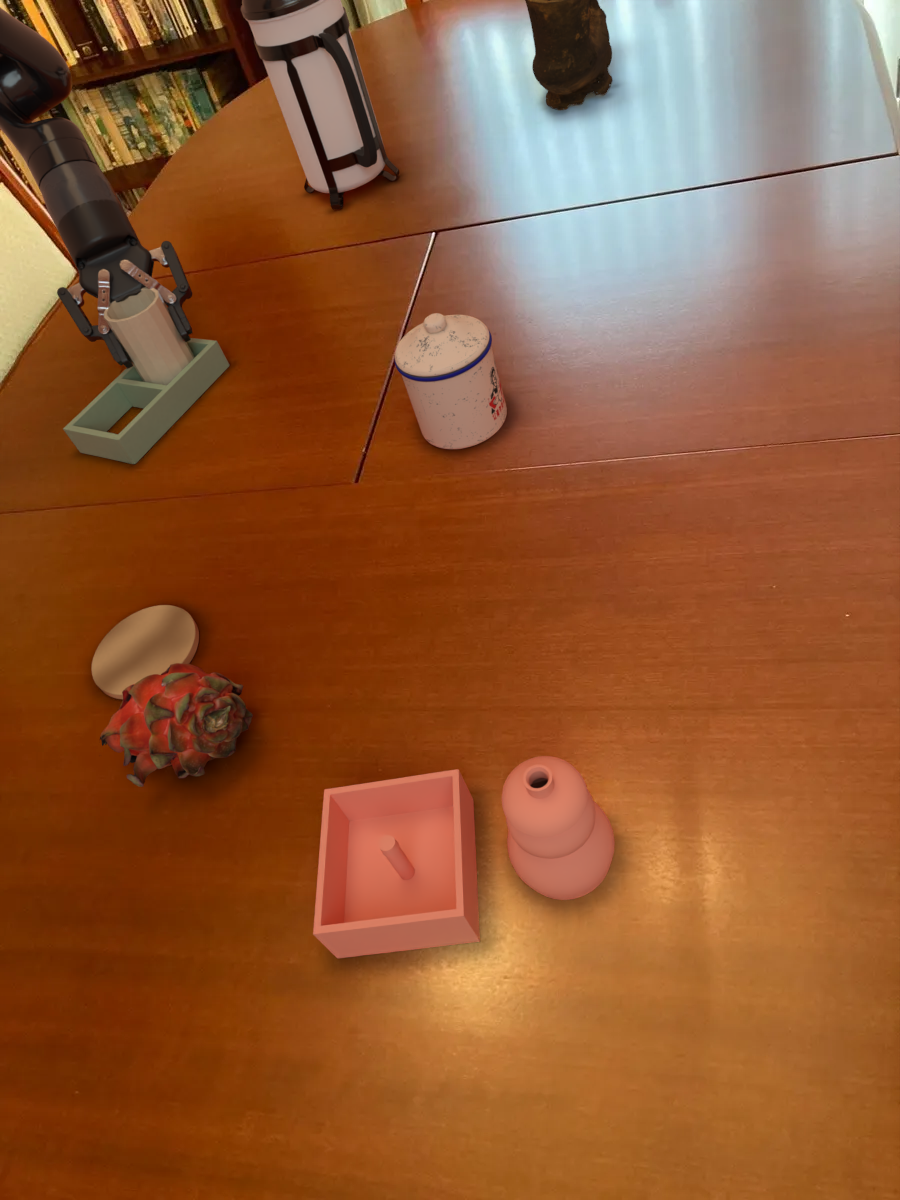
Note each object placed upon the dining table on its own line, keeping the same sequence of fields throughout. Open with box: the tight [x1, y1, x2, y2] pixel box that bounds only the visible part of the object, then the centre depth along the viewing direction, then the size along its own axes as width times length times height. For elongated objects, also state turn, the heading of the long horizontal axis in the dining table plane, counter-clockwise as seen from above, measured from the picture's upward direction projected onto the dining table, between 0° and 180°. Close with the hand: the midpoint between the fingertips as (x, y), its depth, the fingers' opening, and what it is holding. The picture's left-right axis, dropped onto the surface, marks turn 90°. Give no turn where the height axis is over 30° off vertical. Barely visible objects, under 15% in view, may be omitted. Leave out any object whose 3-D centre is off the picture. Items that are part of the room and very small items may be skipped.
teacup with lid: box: [394, 312, 508, 450], centre depth 83 cm, size 12×9×12 cm
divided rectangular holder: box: [62, 337, 231, 465], centre depth 101 cm, size 9×18×4 cm, turn 151°
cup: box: [104, 287, 195, 385], centre depth 100 cm, size 6×6×11 cm
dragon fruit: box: [98, 663, 254, 788], centre depth 66 cm, size 8×8×12 cm
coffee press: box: [240, 0, 400, 211], centre depth 117 cm, size 17×16×30 cm
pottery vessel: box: [524, 0, 613, 111], centre depth 123 cm, size 25×11×20 cm, turn 172°
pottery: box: [312, 755, 616, 959], centre depth 53 cm, size 18×10×10 cm, turn 91°
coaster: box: [91, 604, 200, 700], centre depth 76 cm, size 10×10×1 cm
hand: (157, 351), depth 99 cm, fingers closed on cup, 6 cm apart
